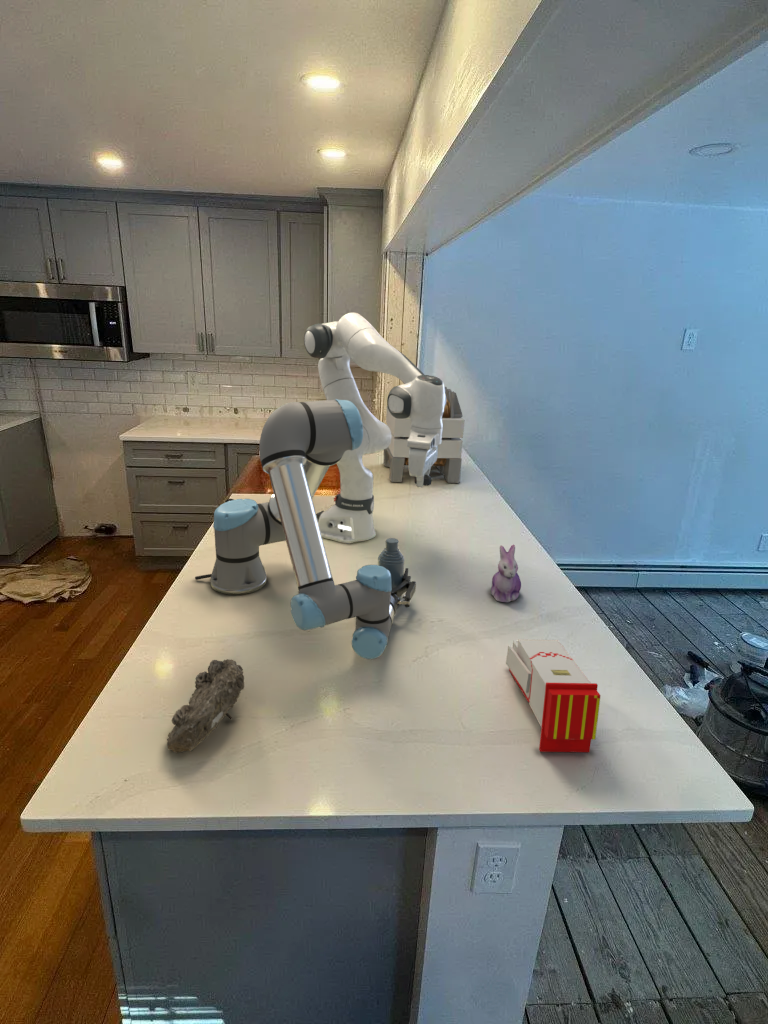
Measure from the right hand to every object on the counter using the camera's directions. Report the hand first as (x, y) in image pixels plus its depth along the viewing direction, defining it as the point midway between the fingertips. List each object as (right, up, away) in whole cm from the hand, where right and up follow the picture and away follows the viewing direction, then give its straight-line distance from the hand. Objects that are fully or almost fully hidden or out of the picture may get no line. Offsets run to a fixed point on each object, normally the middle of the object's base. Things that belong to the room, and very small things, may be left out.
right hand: (422, 483), depth 162 cm
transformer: (+6, +11, +113) cm, 114 cm away
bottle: (-10, -32, -7) cm, 34 cm away
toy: (+21, -47, -46) cm, 69 cm away
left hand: (-9, -24, -5) cm, 26 cm away
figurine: (+23, -32, -2) cm, 39 cm away
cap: (0, +2, -1) cm, 2 cm away
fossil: (-44, -47, -53) cm, 84 cm away
